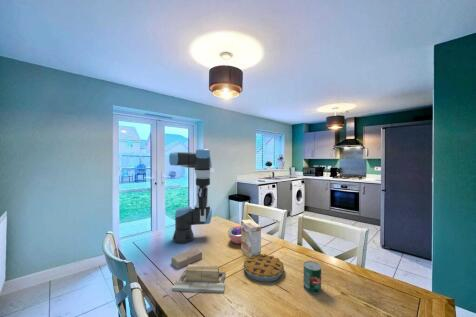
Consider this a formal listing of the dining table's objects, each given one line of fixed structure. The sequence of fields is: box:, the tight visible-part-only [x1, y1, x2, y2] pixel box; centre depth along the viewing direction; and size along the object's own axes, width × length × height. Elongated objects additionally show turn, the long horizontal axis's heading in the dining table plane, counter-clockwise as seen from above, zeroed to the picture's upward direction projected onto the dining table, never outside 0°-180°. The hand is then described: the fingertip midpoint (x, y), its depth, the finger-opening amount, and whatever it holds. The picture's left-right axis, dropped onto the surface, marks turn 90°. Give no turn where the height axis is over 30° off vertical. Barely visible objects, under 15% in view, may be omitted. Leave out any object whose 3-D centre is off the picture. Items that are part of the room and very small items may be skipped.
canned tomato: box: [303, 260, 322, 295], centre depth 94 cm, size 8×8×11 cm
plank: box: [184, 264, 220, 283], centre depth 101 cm, size 5×16×6 cm, turn 86°
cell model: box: [226, 225, 241, 245], centre depth 146 cm, size 17×20×11 cm
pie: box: [242, 253, 285, 283], centre depth 109 cm, size 22×22×5 cm
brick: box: [170, 247, 203, 270], centre depth 119 cm, size 17×8×5 cm, turn 135°
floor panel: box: [171, 270, 226, 294], centre depth 99 cm, size 14×24×1 cm, turn 86°
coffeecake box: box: [240, 219, 262, 258], centre depth 128 cm, size 15×7×20 cm, turn 23°
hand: (202, 220), depth 109 cm, fingers closed
